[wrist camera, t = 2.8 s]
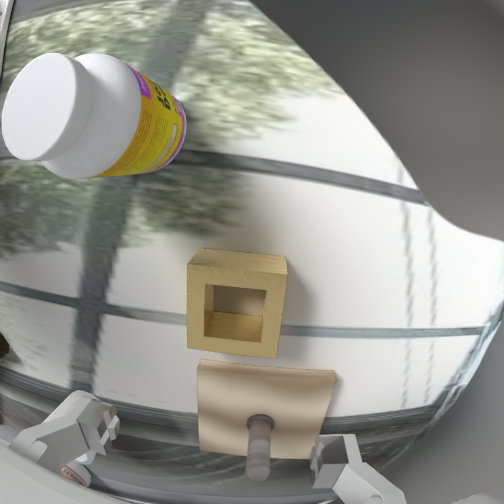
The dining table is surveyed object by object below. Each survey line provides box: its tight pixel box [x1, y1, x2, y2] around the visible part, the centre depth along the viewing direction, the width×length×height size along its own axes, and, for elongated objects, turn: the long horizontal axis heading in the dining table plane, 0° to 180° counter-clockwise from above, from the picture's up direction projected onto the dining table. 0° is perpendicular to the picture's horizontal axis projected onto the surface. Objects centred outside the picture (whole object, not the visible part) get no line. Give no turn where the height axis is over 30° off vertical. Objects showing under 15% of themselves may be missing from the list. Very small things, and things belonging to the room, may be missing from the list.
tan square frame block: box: [187, 248, 288, 358], centre depth 22 cm, size 6×6×4 cm
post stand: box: [197, 359, 337, 482], centre depth 23 cm, size 12×12×8 cm
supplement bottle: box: [2, 53, 187, 179], centre depth 15 cm, size 7×7×13 cm
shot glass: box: [43, 390, 99, 465], centre depth 26 cm, size 7×7×7 cm
